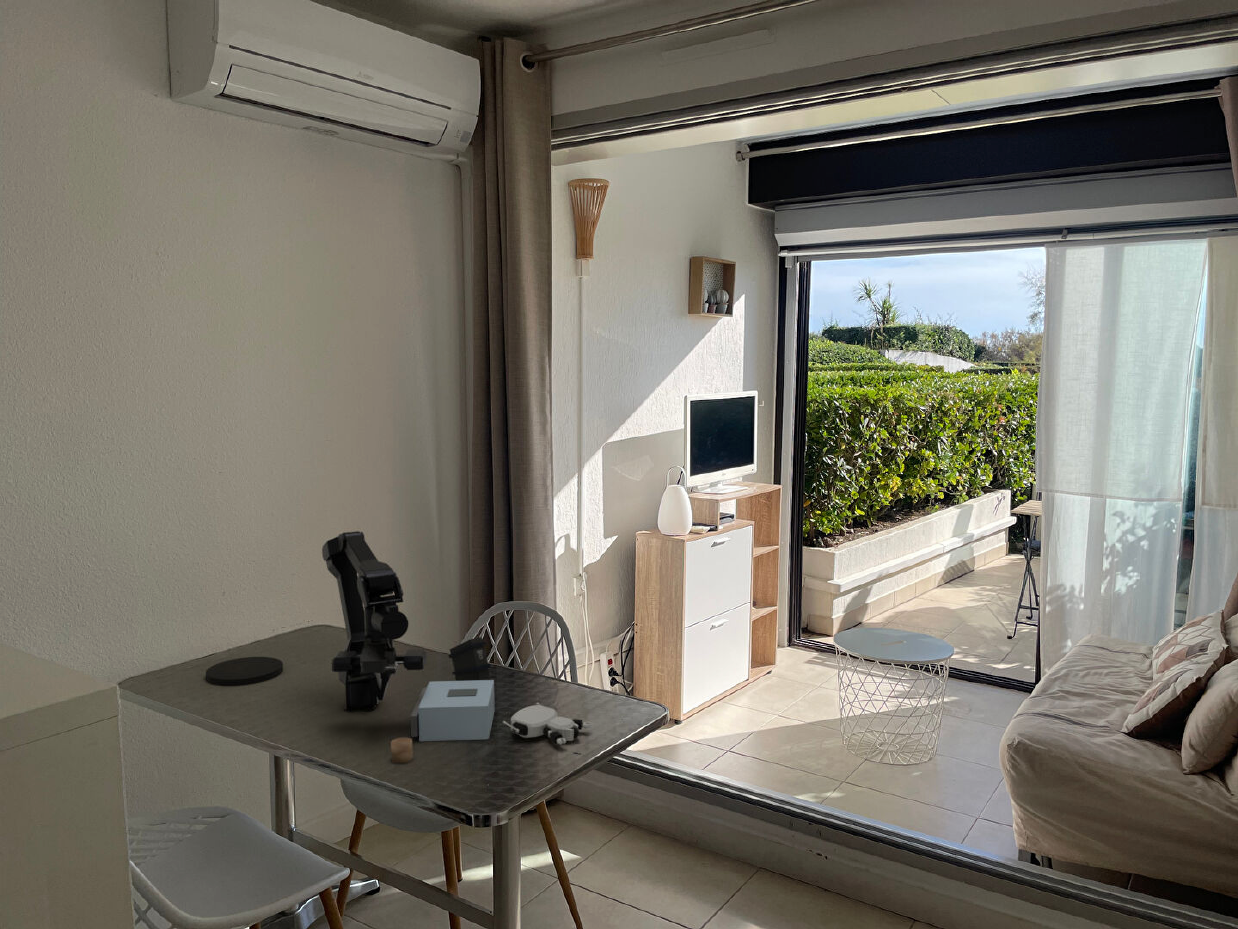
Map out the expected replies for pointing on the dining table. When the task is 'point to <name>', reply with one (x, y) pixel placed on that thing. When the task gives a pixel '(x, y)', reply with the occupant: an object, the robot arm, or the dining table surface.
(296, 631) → the dining table surface
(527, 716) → the robot toy
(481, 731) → the box
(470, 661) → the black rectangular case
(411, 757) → the tan short cylinder
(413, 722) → the tray
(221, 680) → the wireless charger
